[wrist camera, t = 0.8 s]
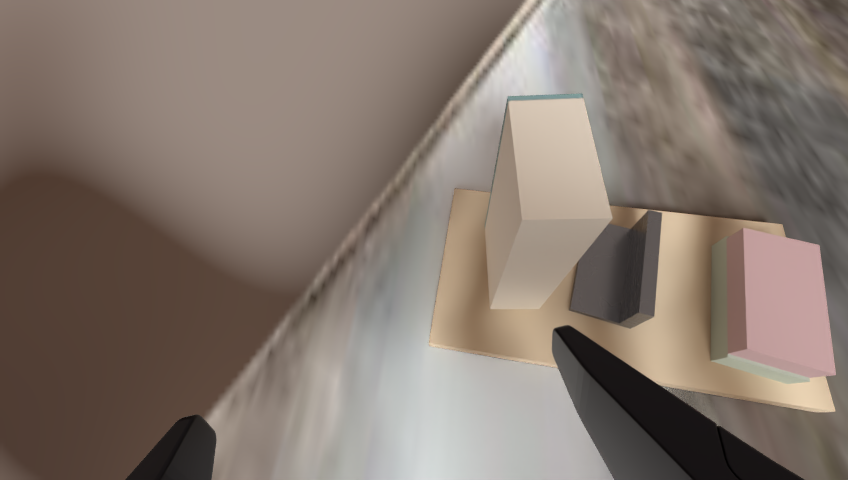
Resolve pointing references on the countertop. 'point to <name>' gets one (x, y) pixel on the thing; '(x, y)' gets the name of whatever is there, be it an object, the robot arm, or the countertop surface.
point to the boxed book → (542, 199)
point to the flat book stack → (770, 307)
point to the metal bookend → (620, 274)
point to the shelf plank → (639, 346)
